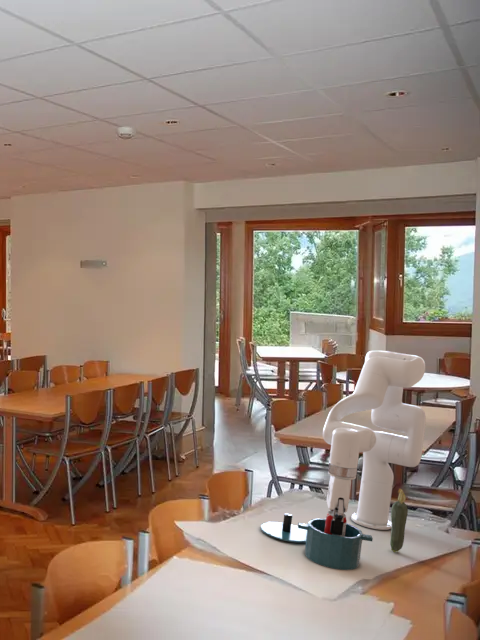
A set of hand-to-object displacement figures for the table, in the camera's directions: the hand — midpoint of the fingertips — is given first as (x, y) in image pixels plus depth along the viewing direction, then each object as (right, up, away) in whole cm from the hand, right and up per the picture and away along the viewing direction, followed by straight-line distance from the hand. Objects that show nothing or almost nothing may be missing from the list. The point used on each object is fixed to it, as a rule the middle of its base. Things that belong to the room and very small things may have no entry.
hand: (334, 529), depth 219 cm
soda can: (-1, -7, +1) cm, 7 cm away
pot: (-1, -9, +1) cm, 9 cm away
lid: (-8, -6, +18) cm, 20 cm away
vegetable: (+22, -10, +9) cm, 26 cm away
